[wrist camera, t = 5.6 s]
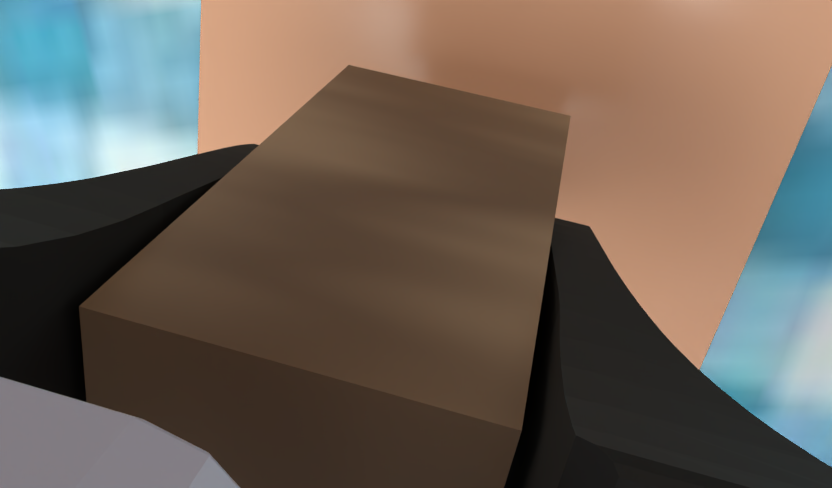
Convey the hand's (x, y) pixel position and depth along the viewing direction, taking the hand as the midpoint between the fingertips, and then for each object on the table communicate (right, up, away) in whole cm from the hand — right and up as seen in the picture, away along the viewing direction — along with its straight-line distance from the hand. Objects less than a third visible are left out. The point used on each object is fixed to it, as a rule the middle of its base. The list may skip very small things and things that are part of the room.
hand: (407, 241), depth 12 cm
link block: (+1, +1, +3) cm, 3 cm away
